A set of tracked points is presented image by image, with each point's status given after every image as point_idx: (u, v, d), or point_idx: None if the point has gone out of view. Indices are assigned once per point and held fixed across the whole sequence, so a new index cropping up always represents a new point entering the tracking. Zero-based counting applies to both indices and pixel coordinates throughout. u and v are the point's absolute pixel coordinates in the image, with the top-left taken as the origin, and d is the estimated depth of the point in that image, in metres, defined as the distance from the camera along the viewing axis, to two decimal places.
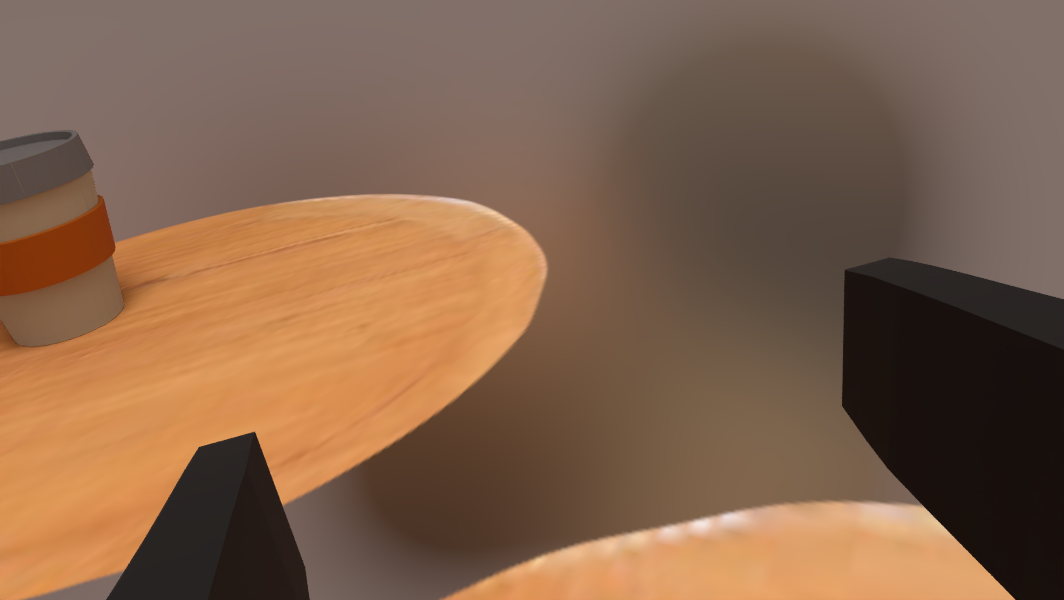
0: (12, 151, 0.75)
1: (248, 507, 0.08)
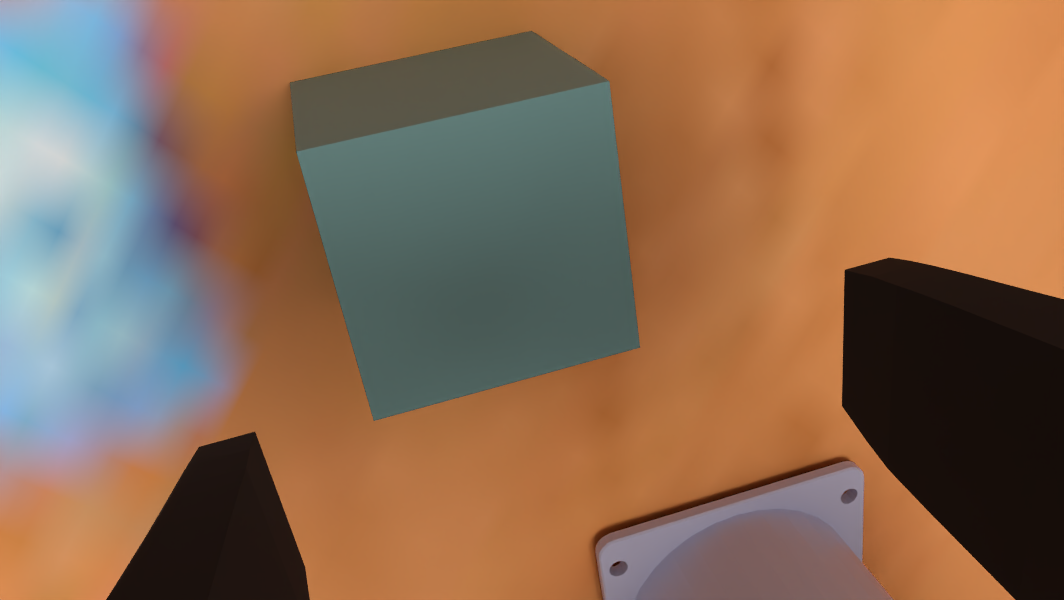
0: None
1: (248, 507, 0.08)
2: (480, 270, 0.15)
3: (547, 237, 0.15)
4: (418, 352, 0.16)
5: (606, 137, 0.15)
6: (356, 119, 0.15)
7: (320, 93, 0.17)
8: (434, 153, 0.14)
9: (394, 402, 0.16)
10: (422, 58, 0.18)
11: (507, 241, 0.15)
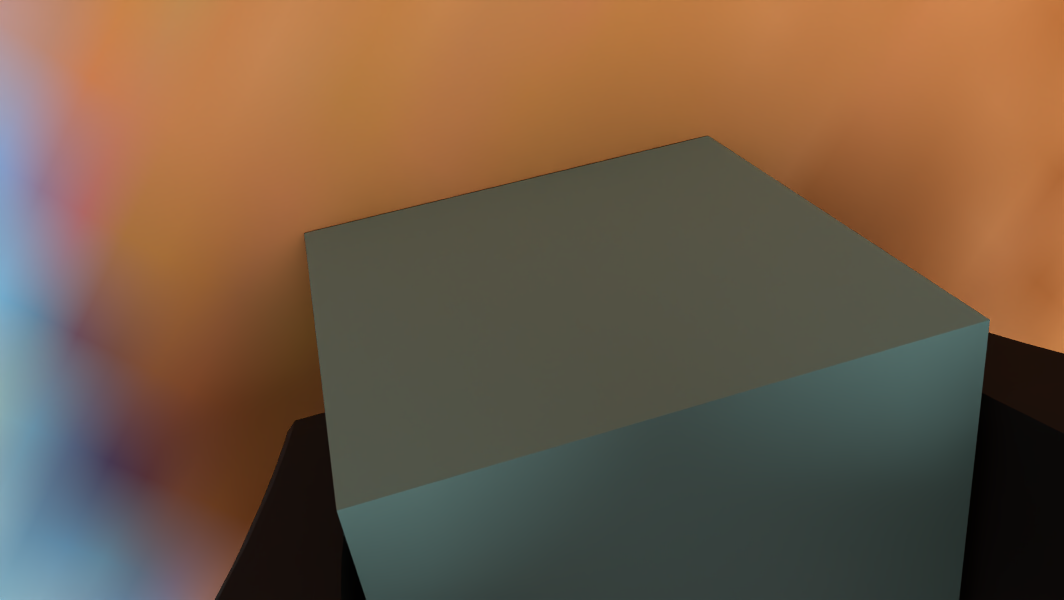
0: None
1: None
2: None
3: None
4: None
5: (962, 421, 0.07)
6: (453, 384, 0.07)
7: (364, 278, 0.09)
8: (627, 483, 0.07)
9: None
10: (534, 193, 0.10)
11: None
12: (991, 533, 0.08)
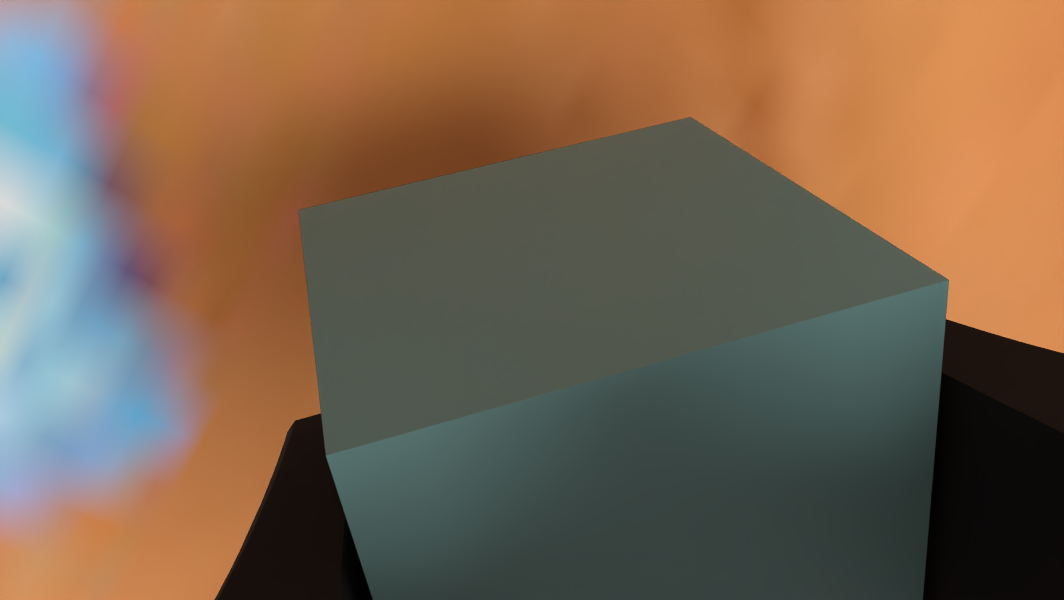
0: None
1: None
2: None
3: (792, 553, 0.08)
4: None
5: (924, 379, 0.08)
6: (437, 343, 0.08)
7: (355, 250, 0.09)
8: (604, 433, 0.07)
9: None
10: (521, 171, 0.11)
11: (723, 565, 0.08)
12: (991, 533, 0.08)
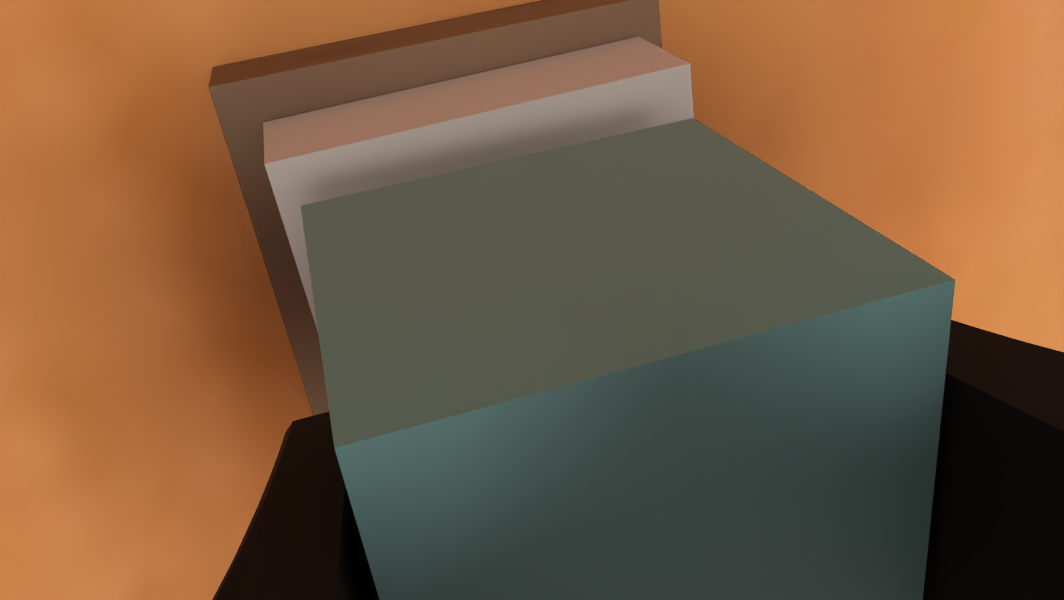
0: None
1: None
2: None
3: (795, 551, 0.08)
4: None
5: (929, 378, 0.08)
6: (445, 338, 0.08)
7: (359, 245, 0.09)
8: (611, 429, 0.07)
9: None
10: (524, 169, 0.11)
11: (725, 562, 0.08)
12: (993, 532, 0.08)
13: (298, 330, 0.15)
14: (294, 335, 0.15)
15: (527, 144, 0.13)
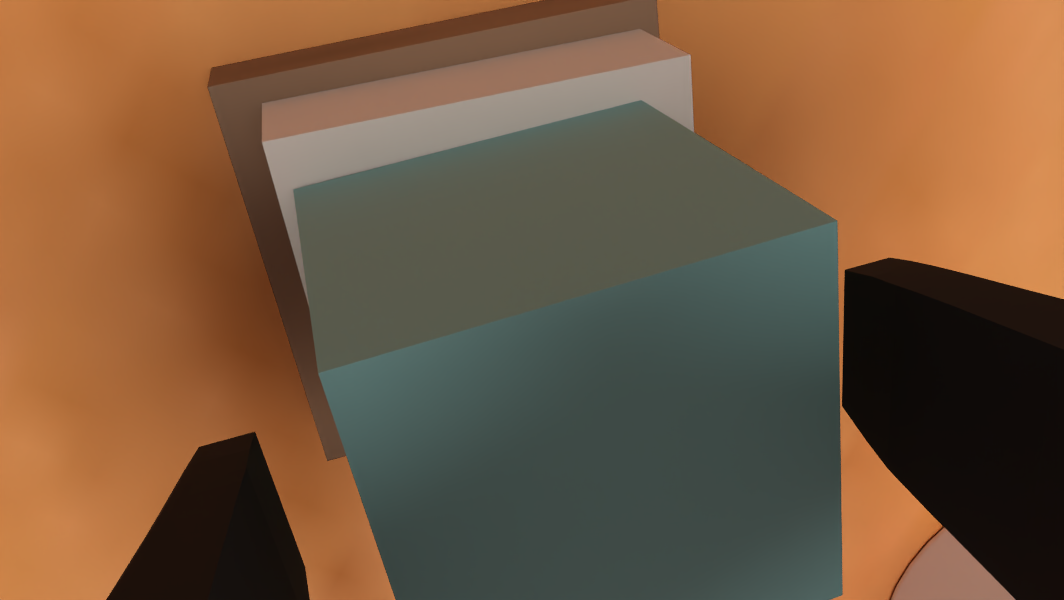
0: None
1: (248, 507, 0.08)
2: (615, 518, 0.09)
3: (721, 461, 0.10)
4: None
5: (824, 307, 0.09)
6: (412, 288, 0.09)
7: (343, 219, 0.11)
8: (550, 355, 0.08)
9: None
10: (489, 150, 0.12)
11: (660, 473, 0.09)
12: None
13: (297, 328, 0.15)
14: (293, 333, 0.15)
15: None
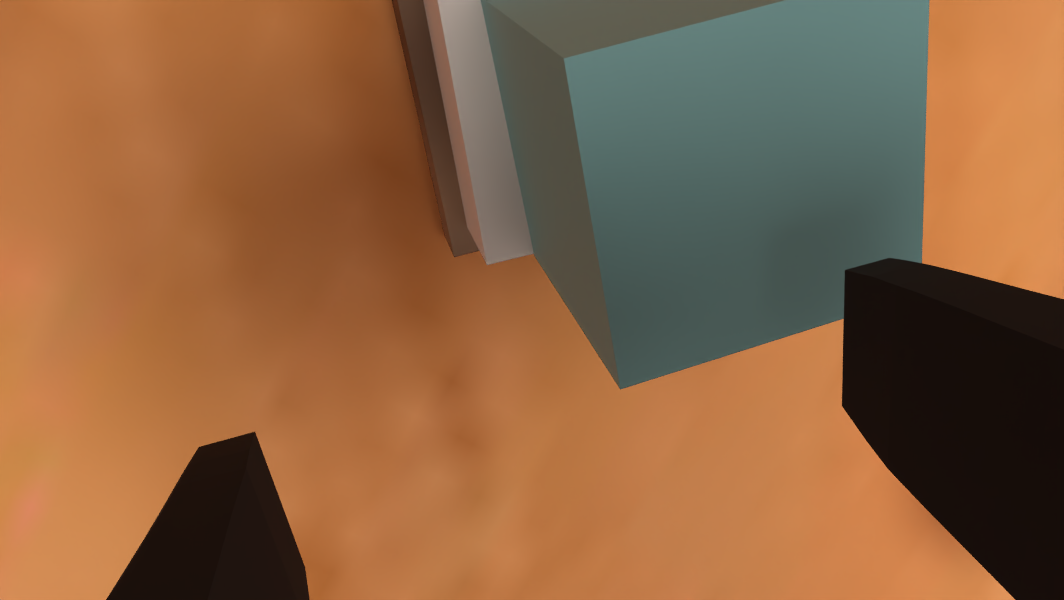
0: None
1: (248, 507, 0.08)
2: (757, 204, 0.13)
3: (836, 162, 0.13)
4: (678, 306, 0.13)
5: (917, 34, 0.12)
6: (611, 22, 0.12)
7: (533, 3, 0.14)
8: (720, 58, 0.12)
9: (645, 366, 0.13)
10: None
11: (792, 167, 0.13)
12: None
13: (436, 131, 0.18)
14: (432, 136, 0.18)
15: None
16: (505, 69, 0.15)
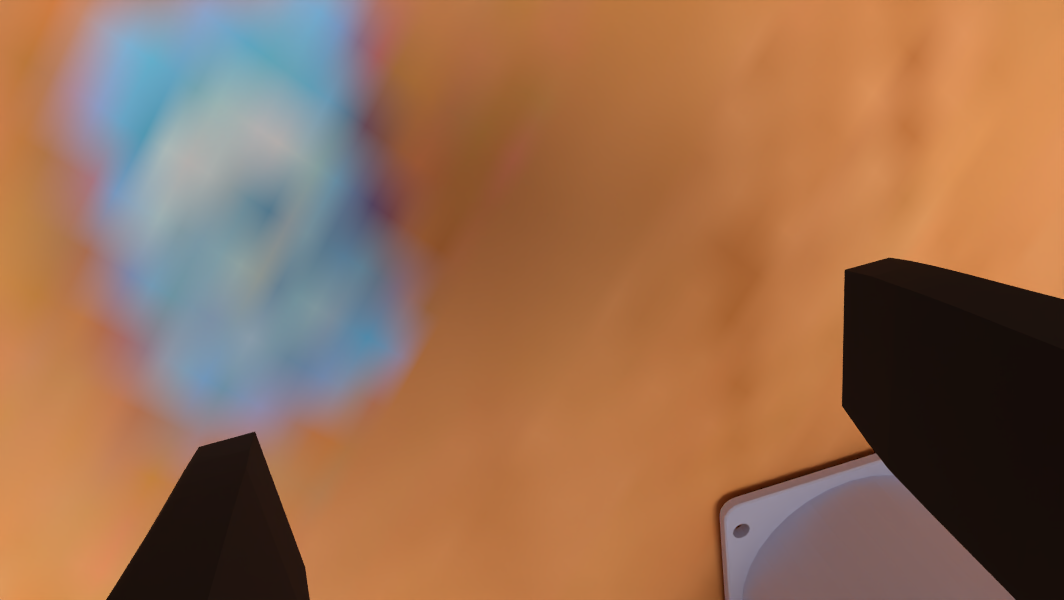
0: None
1: (248, 507, 0.08)
2: None
3: None
4: None
5: None
6: None
7: None
8: None
9: None
10: None
11: None
12: None
13: None
14: None
15: None
16: None
